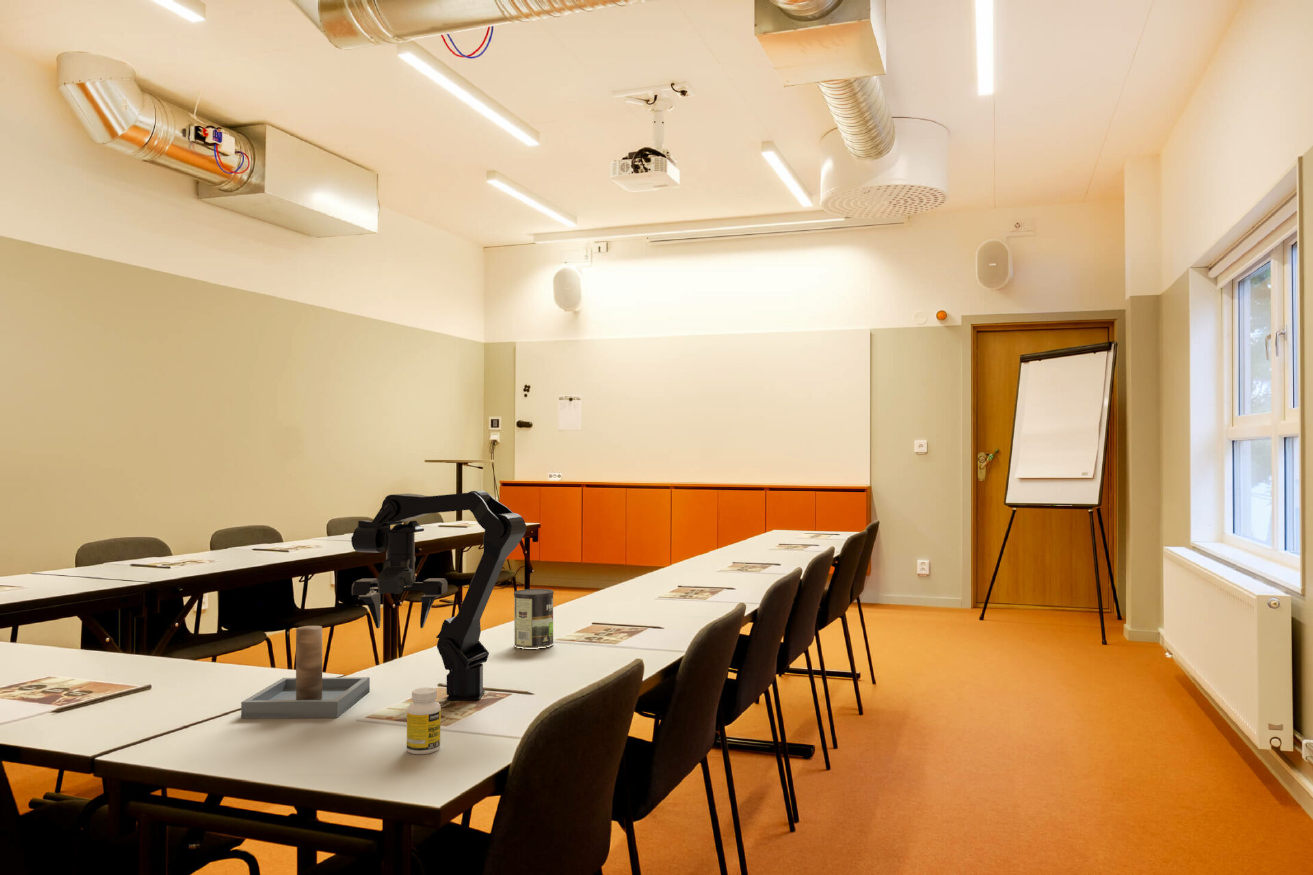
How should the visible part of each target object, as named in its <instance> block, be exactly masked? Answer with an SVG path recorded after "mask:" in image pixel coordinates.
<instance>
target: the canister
mask: <svg viewBox="0 0 1313 875" xmlns="http://www.w3.org/2000/svg"><path fill="white" fill-rule="evenodd" d="M295 678H296V700H321V699H322V678H323V626H322V625H305V626H299V627H297V628H295Z"/></svg>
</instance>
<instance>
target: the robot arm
mask: <svg viewBox="0 0 1313 875" xmlns="http://www.w3.org/2000/svg"><path fill="white" fill-rule="evenodd" d="M460 511H470V512H471V513H472V515H473V516H474V517H473V518H475V520H476V522H477V524H478V525H479V526H480V527H481V528H482V529H483V530H484V533H483V537H482V544H483V546H482V548H483V553H482V555H481V556H480V560H479V562H478V564H477V567H476V569H475V571H474V575H473V577H472V579H471V581H470V583H469V586H468V588H467V591H466V593H465V596H464V598H463V601H462V603H461V605H460V608H459V610H458V612H457V614H456V615H454V616H452V617H450V618H447V619H444V620H443V622H442V624H441V628H440V631H439V633H438V634H437V635H436V637H435V638H436V639H438V640H437V643H436V649H437V650H438V653H439V655H440V656H441V661H442V663H443V666H444V669H445V670H446V671H449V672H448V673H447V674H446V695H447V697H446V700H447V701H477V700H480V699H481V698H482V696H483V695H484V694H485V692H486V690H485V688H484V664H483V663H486V662H487V661H488V658H489V655H490V652H489V651H488V649H487V648H486V647H485V646H484V645H483V644H482V642H481V641H480V637H481V632H482V631H481V630H482V629H481V619H482V616H483V613H484V612H485V608H486V607H487V605H488V602H489V599H490V597H491V594H492V592H493V590H494V587H495V585H496V583H497V582H498V581H497V580H498V578H499V576H500V574H501V571H502V569H503V566H504V564H505V561H506V560H507V558H508V557H509V555H511V554H512V552H513V551H514V550H515V549H516V548H517V547H518V545H519V544H520V542H521V541H522V539H523V538H524V536H525V534H526V532H527V524H526V522H525V519H524V518H523V516H522V515H520V514H519V513H516V512H513V511H512V510H511V509H510V508H509V507H507V506H506V505H505V504H503V503H502V502H500V501H498V500H497V499H495V497H493V496H492V495H491V494H490V493H489V492H487V491H486V490H483V489H482V490H471V491H468V492H462V493H450V494H449V493H448V494H440V495H431V496H430V495H423V494H418V493H417V494H416V493H395V494H388V495H386V496H385V497H384V499H383V500H382V503H381V508H380V509H379V511H377V514H376V515H375V517H374V518H373V519H372V520H368V519H364V520H363V519H362V520H358V521H357V527H356V528H355V529H354V530H353V533H352V536H351V538H350V539H351V540H350V541H351V546H352V548H353V550H354V551H355V552H357V553H374V554H375V553H380V554H381V553H385V554H386V555H385V559H384V564H383V565H384V566H383V569H382V570H381V571H380V572H379V575H378V576H377V577H376V578H361V579H357V580H355V581H354V582H353V583H352V585H351V596H357V598H358V600H362V601H363V602H364V603H365V604H366V605H367V607H368V609H369V611H370V614H371V617H372V620H373V623H374V625H375V628H376V629H379V628H381V620H382V618H381V615H382V614H381V595H384V594H394V595H396V594H397V595H399V594H401V593H402V592H422V593H423V594H424V595H421V596H420V602H421V609H420V618H419V625H420V626H419V627H420V629H423V628H424V627H425V624H426V621H427V619H428V616H429V613H430V611H431V608H432V606H433V604H434V601H435V600H436V599H438V598H439V597H440V596H442V595H443V594H445V593H447V592H448V581H447V579H446V578H443V577H442V578H441V577H440V578H439V577H438V578H437V577H436V578H434V577H432V578H431V577H429V578H427V579H425V580H423V582H422V581H421V582H420V581H417V582H416V575H415V562H416V558H417V556H415V548H416V547H415V535H416V534H415V533H421V532H422V533H423V532H424V531H425V528H424V527H423V526H422V525H420V524H419V522H418V521H417V520H415V519H419V518H423V517H425V516H427V515H430V514H436V513H448V512H449V513H450V512H460ZM406 521H409V522H408V523H404V522H406ZM391 526H393V527H392V528H391ZM483 693H484V694H483Z"/></svg>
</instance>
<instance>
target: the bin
mask: <svg viewBox="0 0 1313 875" xmlns="http://www.w3.org/2000/svg"><path fill="white" fill-rule="evenodd" d="M370 684H371V681H370V677H368V676H366V677H364V676H363V677H362V676H361V677H359V676H358V677H356V676H355V677H354V676H353V677H348V676H347V677H343V676H342V677H322V699H321V700H296V677H282V678H280V679H279V680H277V681H275V682H274V683H271V684H270V685H269V686H267V687H265V688H263V689H261V690H260V691H258V692H256V693H255V694H253V695H251V696H250V697H247V698H246V699H244V700H243V701H241V702H240V704H241V705H240V706H241V707H240V708H241V710H240V719H320V718H321V719H328V718H329V719H332V718H333V719H337V718H339V717H341V716H342V715H343V714H344V713H346V712H347V711H348V710H349V709H351V708H352V706H354V705H356V703H357V702H359V701H360V700H361V699H363V698H364V697H365V696H366V695H368V694H369V693H370V691H371V690H370V688H371V687H370V686H371V685H370Z"/></svg>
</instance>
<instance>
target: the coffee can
mask: <svg viewBox="0 0 1313 875" xmlns="http://www.w3.org/2000/svg"><path fill="white" fill-rule="evenodd" d="M554 594H555V593H554V590H552V589H548V588H547V589H546V588H526V589H525V588H524V589H519V590H518V589H517V590H515V591H513V597H514V600H513V602H514V605H513V606H514V609H513V610H514V611H513V612H514V614H513V615H514V618H513V619H514V629H513V630H514V635H513V636H514V645H515V646H516V647H523V648H538V647H547V646H550V645H552V644H554ZM514 645H513V646H514Z"/></svg>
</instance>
